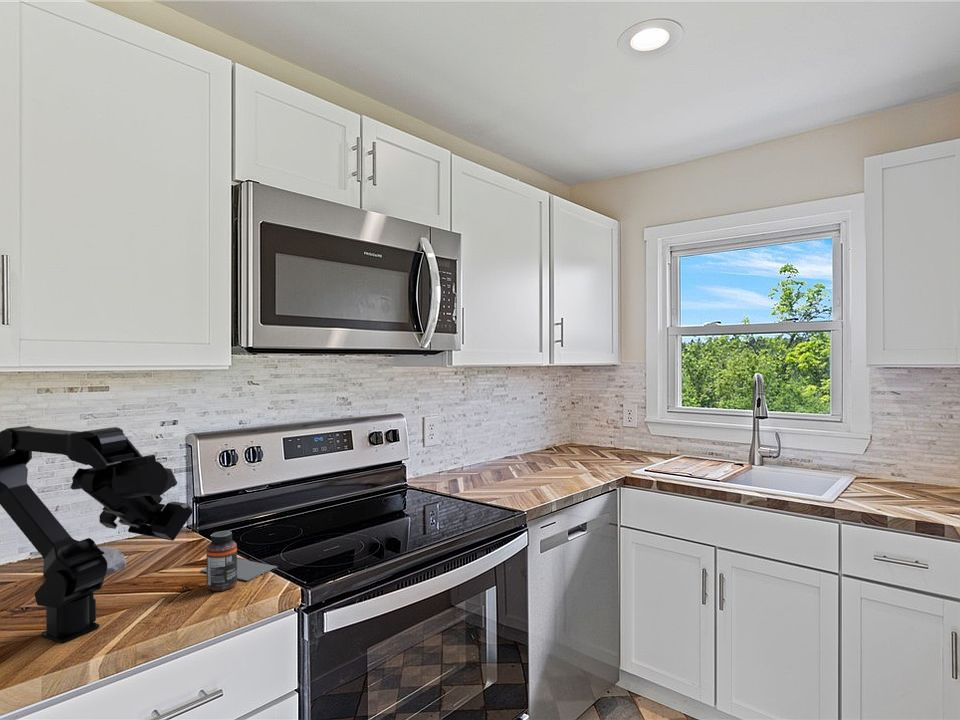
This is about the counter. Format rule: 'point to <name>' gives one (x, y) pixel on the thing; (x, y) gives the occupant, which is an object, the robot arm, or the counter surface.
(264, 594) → the counter surface
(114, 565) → the stone block
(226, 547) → the supplement bottle
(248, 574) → the pad
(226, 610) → the counter surface
